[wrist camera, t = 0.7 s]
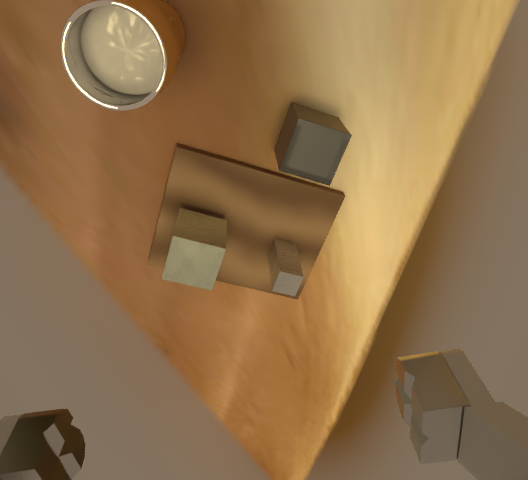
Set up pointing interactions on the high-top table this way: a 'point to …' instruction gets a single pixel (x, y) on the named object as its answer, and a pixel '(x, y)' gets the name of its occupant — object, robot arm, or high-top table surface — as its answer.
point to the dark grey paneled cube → (311, 144)
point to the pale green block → (196, 249)
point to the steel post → (284, 267)
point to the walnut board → (246, 214)
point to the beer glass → (122, 50)
